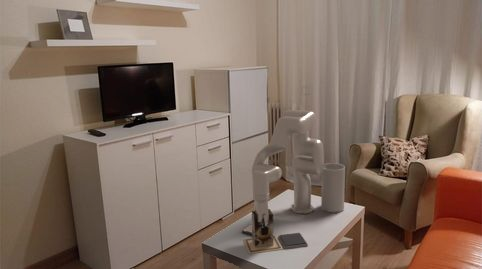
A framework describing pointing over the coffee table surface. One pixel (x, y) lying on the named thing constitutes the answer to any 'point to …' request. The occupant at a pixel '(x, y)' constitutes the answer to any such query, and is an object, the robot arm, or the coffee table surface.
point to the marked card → (252, 248)
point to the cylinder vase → (333, 187)
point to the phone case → (248, 230)
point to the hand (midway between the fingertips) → (262, 229)
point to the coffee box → (256, 231)
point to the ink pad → (292, 240)
